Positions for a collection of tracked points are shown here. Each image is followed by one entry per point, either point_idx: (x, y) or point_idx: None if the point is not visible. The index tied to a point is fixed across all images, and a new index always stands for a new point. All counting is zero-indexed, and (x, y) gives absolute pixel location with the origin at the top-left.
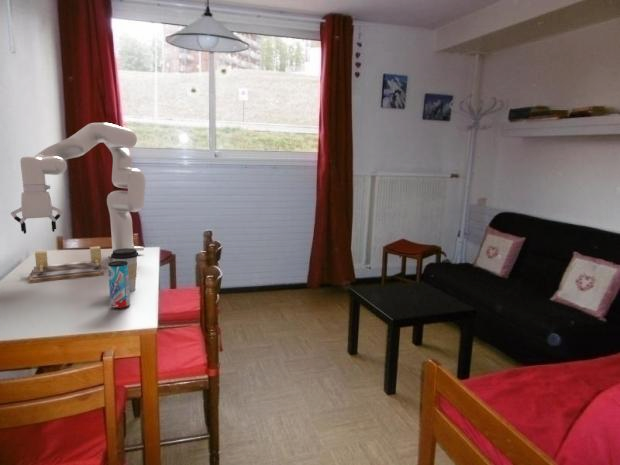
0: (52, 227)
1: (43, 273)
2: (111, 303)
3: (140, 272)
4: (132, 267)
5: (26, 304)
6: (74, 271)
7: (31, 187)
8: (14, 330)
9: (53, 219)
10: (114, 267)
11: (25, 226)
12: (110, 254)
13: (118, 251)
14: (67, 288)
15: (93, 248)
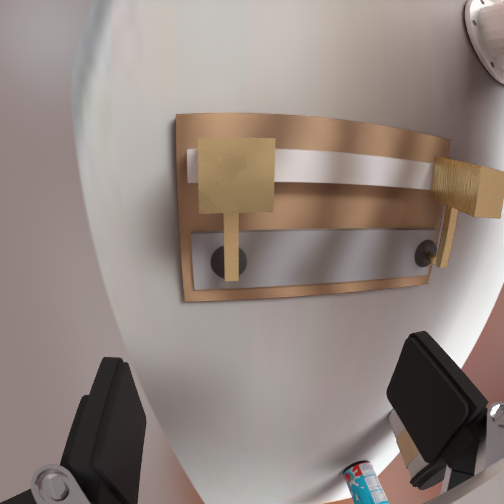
0: (406, 422)
1: None
2: (345, 479)
3: (484, 287)
4: None
5: (211, 449)
6: (354, 262)
7: None
8: (213, 500)
9: (461, 473)
10: None
11: (123, 447)
12: (473, 25)
13: (432, 479)
14: (302, 385)
15: (483, 214)
